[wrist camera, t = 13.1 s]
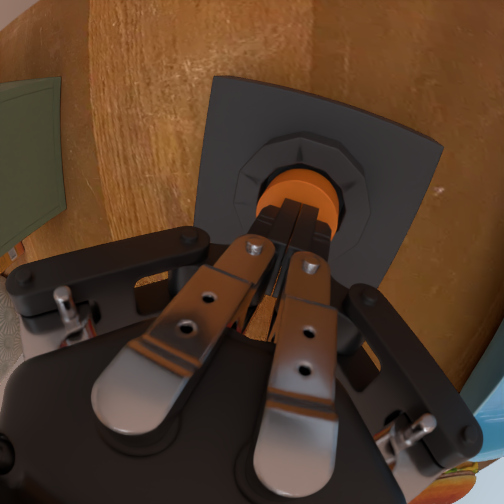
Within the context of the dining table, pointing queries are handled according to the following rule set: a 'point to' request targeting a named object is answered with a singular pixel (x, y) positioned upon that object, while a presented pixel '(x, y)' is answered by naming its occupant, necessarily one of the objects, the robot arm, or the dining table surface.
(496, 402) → the casserole dish
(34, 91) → the cabinet
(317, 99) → the panel
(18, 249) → the supplement box
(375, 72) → the dining table surface
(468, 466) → the burger
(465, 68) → the dining table surface
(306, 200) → the button
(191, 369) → the robot arm
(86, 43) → the dining table surface
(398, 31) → the dining table surface
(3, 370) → the planter
